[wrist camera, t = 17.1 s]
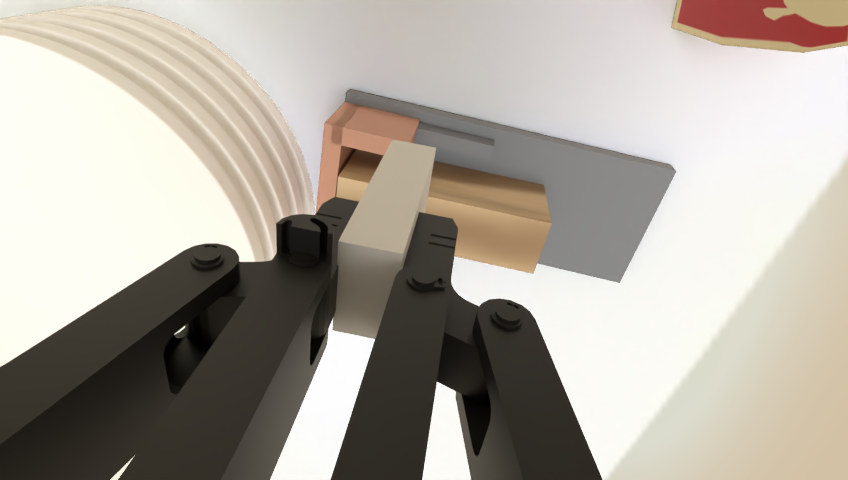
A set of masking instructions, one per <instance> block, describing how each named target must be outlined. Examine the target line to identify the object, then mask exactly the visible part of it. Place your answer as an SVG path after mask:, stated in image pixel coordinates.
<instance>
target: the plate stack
mask: <svg viewBox="0 0 848 480" xmlns="http://www.w3.org/2000/svg"><path fill="white" fill-rule="evenodd" d="M297 214H309V215H314V202H313V193H312V186H311V181H310V177H309V173H308V169H307V166H306V163H305V160H304V157H303V154H302V152H301V149H300V147H299V145H298V143H297V140H296V138H295V136H294V134H293V132H292V131H291V129H290V127H289V125H288V123H287V122H286V120H285V119H284V117H283V115H282V114H281V112H280V111H279V109H278V108H277V107H276V105H275V104H274V103H273V101H272V100H271V99H270V97H269V96H268V95H267V94H266V92H265V91H264V90H263V89H262V88H261V87H260V85H259V84H258V83H257V82H256V81H255V80H254V79H253V78H252V77H251V76H250V75H249V74H248V73H247V72H246V71H245V70H244V69H243V68H242V67H241V66H240V65H238V64H237V63H236V62H235V61H234V60H233V59H231V58H230V57H229V56H228V55H226V54H225V53H224V52H223V51H221V50H220V49H219V48H217V47H216V46H214V45H213V44H211V43H210V42H208V41H207V40H205V39H204V38H202V37H200V36H199V35H197V34H195V33H193V32H192V31H190V30H188V29H186V28H184V27H182V26H180V25H178V24H176V23H173V22H171V21H169V20H166V19H163V18H161V17H158V16H155V15H152V14H149V13H145V12H142V11H138V10H133V9H129V8H123V7H115V6H81V7H74V8H67V9H62V10H55V11H47V12H41V13H35V14H30V15H22V16H14V17H8V18H2V19H0V362H2V363H3V364H6V363H8V362H9V361H11V360H12V359H14V358H16V357H17V356H19V355H20V354H22V353H23V352H25V351H27V350H28V349H30V348H31V347H33V346H34V345H36V344H38V343H39V342H41V341H42V340H44V339H45V338H47V337H49V336H50V335H52V334H53V333H55V332H57V331H58V330H60V329H61V328H63V327H64V326H66V325H68V324H69V323H71V322H72V321H74V320H75V319H77V318H79V317H80V316H82V315H83V314H85V313H86V312H88V311H90V310H91V309H93V308H94V307H96V306H97V305H99V304H101V303H102V302H104V301H105V300H107V299H108V298H110V297H112V296H113V295H115V294H116V293H118V292H119V291H121V290H123V289H124V288H126V287H127V286H129V285H130V284H132V283H134V282H135V281H137V280H138V279H140V278H141V277H143V276H145V275H146V274H148V273H149V272H151V271H152V270H154V269H156V268H157V267H159V266H160V265H162V264H163V263H165V262H167V261H168V260H170V259H171V258H173V257H174V256H176V255H178V254H179V253H181V252H182V251H184V250H186V249H188V248H190V247H193V246H196V245H201V244H206V243H218V244H222V245H226V246H229V247H231V248H232V249H234V250H236V252H237V254H238V255H239V262H262V261H270V260H272V259H273V258H274V256H275V255H276V253H277V246H276V223H277V222H278V221H280V220H281V219H282V218H285V217H288V216H291V215H297ZM184 328H185V326H184V327H183V328H181V329H180V330H179V331H178V332H176V333H175V334H177V333H179V332H180V331H181V330H183V329H184ZM175 334H174V335H175Z"/></svg>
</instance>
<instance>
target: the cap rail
mask: <svg viewBox="0 0 848 480" xmlns="http://www.w3.org/2000/svg"><path fill="white" fill-rule="evenodd" d="M392 139H393V140H399V141H404V142H409V143H414V144H420V145H425V146H430V147H435V148H436V152H435V158H434V161H437V162H442V163H446V164H451V165H455V166H460V167H464V168H469V169H474V170H478V171H483V172H487V173H492V174H496V175H501V176H505V177H510V178H515V179H519V180H524V181H528V182H533V183H537V184H542V185H544V188H545V193H546V198H547V203H548V208H549V213H550V218H551V223H552V224H551V227H550V230H549V232H548V235H547V238H546V241H545V243H544V246H543V249H542V251H541V254H540V257H539V260H538V262H537V263H538V264H543V265H547V266H551V267H555V268H559V269H564V270H568V271H572V272H576V273H581V274H585V275H589V276H593V277H597V278H602V279H606V280H610V281H614V282H618V283H620V281H621V279H622V277H623V275H624V273H625V271H626V269H627V267H628V265H629V263H630V261H631V259H632V257H633V255H634V253H635V251H636V249H637V248H638V246H639V244H640V242H641V240H642V238H643V236H644V234H645V232H646V230H647V228H648V226H649V224H650V222H651V220H652V218H653V216H654V214H655V212H656V210H657V208H658V206H659V204H660V202H661V200H662V198H663V196H664V194H665V192H666V190H667V189H668V187H669V185H670V183H671V181H672V179H673V177H674V175H675V173H676V171H675V170H674V168H673V167H672V166H671V165H668V164H664V163H660V162H656V161H651V160H647V159H643V158H639V157H635V156H630V155H626V154H622V153H618V152H613V151H609V150H605V149H601V148H596V147H592V146H588V145H584V144H580V143H575V142H571V141H567V140H563V139H558V138H554V137H550V136H546V135H541V134H537V133H533V132H529V131H525V130H520V129H516V128H512V127H508V126H503V125H499V124H495V123H491V122H487V121H482V120H478V119H474V118H470V117H465V116H461V115H457V114H453V113H448V112H444V111H440V110H436V109H432V108H427V107H423V106H419V105H415V104H410V103H406V102H402V101H398V100H394V99H389V98H385V97H381V96H377V95H372V94H368V93H364V92H360V91H355V90H351V89H350V90H349V91H348V92H347V93H346V98H345V102H344V103H343V104H342V105H341V107H340V108H339V109H338V110H337V111H336V112H335V113H334V114H333V115H332V116H331V117H330V118H329V119H328V120H327V121H326V122H325V125H324V135H323V145H322V156H321V166H320V176H319V187H318V197H317V207H316V213H317V211H318V210H319V208H320V207H321V205H322V204H323V203H324V202H326V201H328V200H330V199H332V198H333V197H336V194H337V184H338V176H339V175H340V173H341V172H342V170H343V169H344V167H345V166H346V164H347V163H348V161H349V160H350V158H351V157H352V155H353V154H354V152H355V151H356V149H359V150H363V151H367V152H371V153H376V154H380V155H384V154H385V152H386V151H387V149H388V147H389V145H390V143H391V141H392Z"/></svg>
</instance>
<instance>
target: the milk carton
mask: <svg viewBox="0 0 848 480" xmlns="http://www.w3.org/2000/svg"><path fill="white" fill-rule="evenodd" d="M672 28H674V29H677V30H680V31H683V32H686V33H689V34H692V35H695V36H697V37H700V38H703V39H706V40H709V41H712V42H715V43H718V44H721V45H728V46H739V47H749V48H760V49H770V50H781V51H792V52H802V53H804V52H810V51H816V50H822V49H829V48H835V47H841V46H847V45H848V0H677V5H676V10H675V14H674V19H673V23H672Z"/></svg>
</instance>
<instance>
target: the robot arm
mask: <svg viewBox="0 0 848 480" xmlns="http://www.w3.org/2000/svg"><path fill="white" fill-rule="evenodd" d="M435 152H436V148H435V147H430V146H425V145H420V144H414V143H409V142H404V141H399V140H393V139H392V141H391V143H390V145H389V147H388V149H387V151H386V152H385V154H384V156H383V158H382V160H381V162H380V164H379V166H378V168H377V169H376V171H375V173H374V175H373V177H372V179H371V181H370V183H369V184H368V186H367V188H366V190H365V192H364V194H363V196H362V198H361V199H360V201H354V200H349V199H344V198H339V197H333V198H332V199H330V200H328V201H326V202H324V203H323V204H322V205H321V207H320V208H319V210H318V211H317V213H316V214H315V215H309V214H297V215H291V216H288V217H285V218H282V219H281V220H280V221H278V222H277V223H276V246H277V253H276V255H275V256H274V258H273V259H272V260H270V261H262V262H239V255H238V254H237V252H236V250H234V249H232V248H231V247H229V246H226V245H222V244H218V243H206V244H201V245H196V246H193V247H190V248H188V249H186V250H184V251H182V252H181V253H179V254H178V255H176V256H174V257H173V258H171V259H170V260H168V261H167V262H165V263H163V264H162V265H160V266H159V267H157V268H156V269H154V270H152V271H151V272H149V273H148V274H146V275H145V276H143V277H141V278H140V279H138V280H137V281H135V282H134V283H132V284H130V285H129V286H127V287H126V288H124V289H123V290H121V291H119V292H118V293H116V294H115V295H113V296H112V297H110V298H108V299H107V300H105V301H104V302H102V303H101V304H99V305H97V306H96V307H94V308H93V309H91V310H90V311H88V312H86V313H85V314H83V315H82V316H80V317H79V318H77V319H75V320H74V321H72V322H71V323H69V324H68V325H66V326H64V327H63V328H61V329H60V330H58V331H57V332H55V333H53V334H52V335H50V336H49V337H47V338H45V339H44V340H42V341H41V342H39V343H38V344H36V345H34V346H33V347H31V348H30V349H28V350H27V351H25V352H23V353H22V354H20V355H19V356H17V357H16V358H14V359H12V360H11V361H9V362H8V363H6V364H5V365H3V366H1V367H0V480H110V479H111V478H112V477H113V476H114V475H115V474H116V473H117V472H118V471H119V470H120V469H121V468H122V467H123V466H124V465H125V464H126V463H127V462H128V461H129V460H130V459H131V458H132V457H133V456H134V458H133V459H132V461H131V462H130V464H129V465H128V466H127V468H126V469H125V471H124V472H123V474H122V475H121V476H120V478H119V479H118V480H270V478H271V475H272V473H273V471H274V468H275V466H276V464H277V461H278V459H279V457H280V454H281V452H282V449H283V447H284V445H285V442H286V440H287V438H288V435H289V433H290V430H291V428H292V426H293V423H294V421H295V419H296V416H297V414H298V412H299V409H300V407H301V404H302V402H303V400H304V397H305V395H306V393H307V390H308V388H309V385H310V383H311V381H312V378H313V376H314V374H315V371H316V369H317V367H318V364H319V362H320V359H321V357H322V355H323V352H324V350H325V348H326V345H327V339H328V328H329V325H330V323H331V321H332V319H333V330H335V331H340V332H344V333H349V334H354V335H359V336H364V337H369V338H374V339H375V342H374V345H373V348H372V351H371V355H370V358H369V361H368V364H367V367H366V370H365V373H364V377H363V380H362V383H361V386H360V389H359V392H358V396H357V399H356V402H355V405H354V408H353V411H352V414H351V418H350V421H349V424H348V427H347V430H346V433H345V437H344V440H343V443H342V446H341V449H340V452H339V455H338V459H337V462H336V465H335V468H334V471H333V474H332V478H331V480H422V476H423V469H424V462H425V456H426V449H427V442H428V436H429V429H430V422H431V416H432V409H433V402H434V396H435V389H436V382H439V383H441V384H443V385H445V386H447V387H449V388H451V389H453V390H455V391H456V401H457V406H458V412H459V417H460V422H461V427H462V433H463V438H464V443H465V448H466V454H467V459H468V464H469V469H470V475H471V480H602V478H601V475H600V473H599V470H598V468H597V466H596V463H595V461H594V459H593V456H592V454H591V451H590V449H589V447H588V444H587V442H586V439H585V437H584V435H583V432H582V430H581V428H580V425H579V423H578V420H577V418H576V416H575V413H574V411H573V408H572V406H571V404H570V401H569V399H568V397H567V394H566V392H565V389H564V387H563V385H562V382H561V380H560V377H559V375H558V373H557V370H556V368H555V365H554V363H553V361H552V358H551V356H550V354H549V351H548V349H547V346H546V344H545V342H544V339H543V337H542V334H541V332H540V330H539V327H538V325H537V323H536V320H535V318H534V317H533V316H532V314H531V313H530V311H528V310H527V309H526V308H524V307H523V306H522V305H520V304H517V303H515V302H513V301H510V300H504V299H491V300H488V301H486V302H484V303H482V304H481V305H480V307H479V306H477V305H474V304H472V303H470V302H468V301H466V300H465V299H463V298H462V297H461V296H459V295H458V294H457V293H456V292H455V290H454V289H453V287H452V285H451V274H452V267H453V261H454V254H455V247H456V240H457V234H458V227H457V226H456V224H455V222H454V220H453V218H448V217H442V216H437V215H432V214H427V213H425V211H426V205H427V199H428V193H429V187H430V181H431V175H432V169H433V163H434V158H435ZM333 316H334V317H333ZM184 326H185V328H184V329H183V330H181V331H180V332H179V333H177V334H175V333H176V332H178V331H179V330H180V329H181V328H183V327H184ZM174 334H175V335H174Z"/></svg>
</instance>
